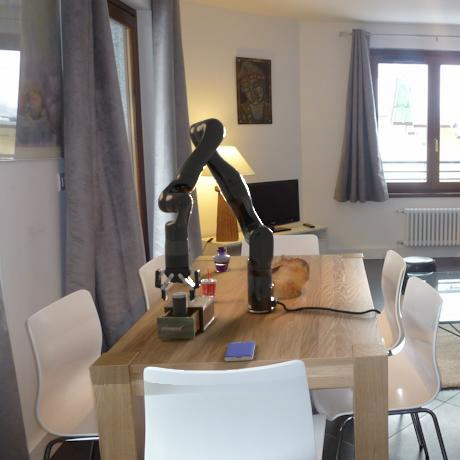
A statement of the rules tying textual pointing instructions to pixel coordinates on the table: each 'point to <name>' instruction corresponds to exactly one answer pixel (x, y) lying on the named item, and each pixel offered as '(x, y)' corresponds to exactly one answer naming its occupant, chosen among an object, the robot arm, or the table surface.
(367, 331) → the table surface
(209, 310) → the cabinet
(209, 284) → the beverage cup
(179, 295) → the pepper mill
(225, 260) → the potion bottle
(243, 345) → the hard drive
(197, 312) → the drawer
